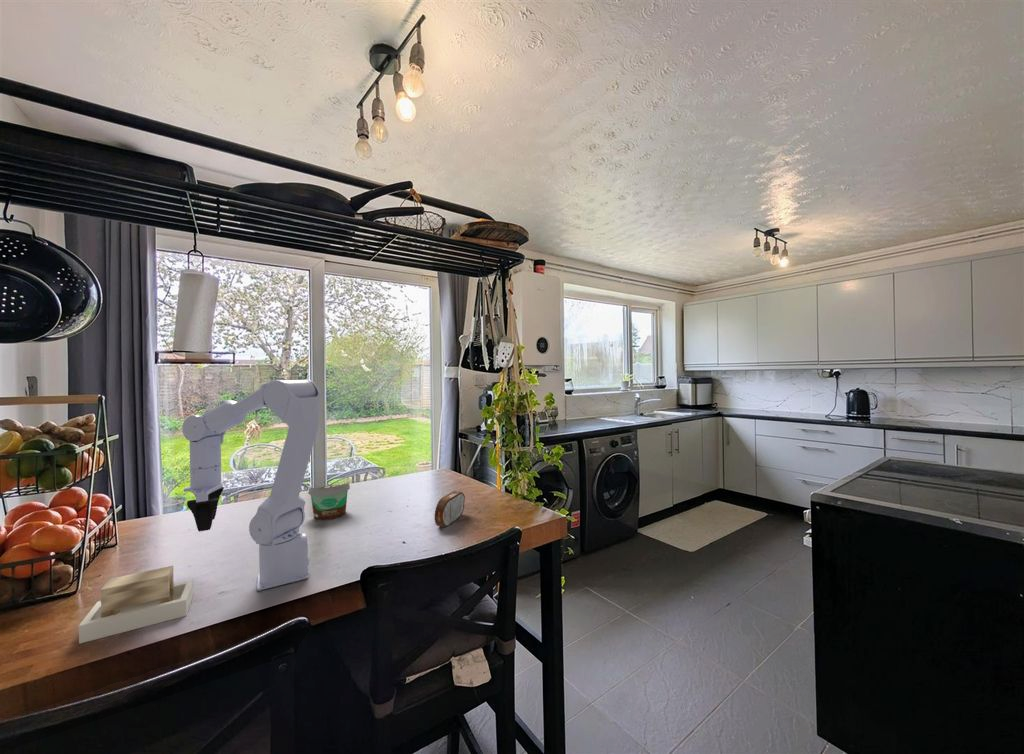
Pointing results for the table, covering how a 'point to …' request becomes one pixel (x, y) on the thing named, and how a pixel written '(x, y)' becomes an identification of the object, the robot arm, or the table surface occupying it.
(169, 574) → the wooden toy bench
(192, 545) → the table surface
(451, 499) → the tin
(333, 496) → the food container
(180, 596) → the tray
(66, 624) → the table surface
